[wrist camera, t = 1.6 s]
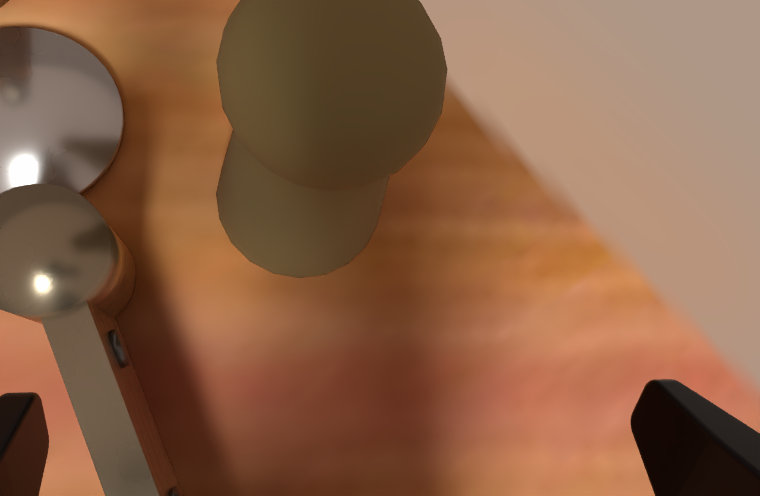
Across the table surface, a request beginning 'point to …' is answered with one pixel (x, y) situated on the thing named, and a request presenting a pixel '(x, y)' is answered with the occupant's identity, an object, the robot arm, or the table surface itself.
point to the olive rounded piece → (321, 123)
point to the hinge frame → (73, 247)
